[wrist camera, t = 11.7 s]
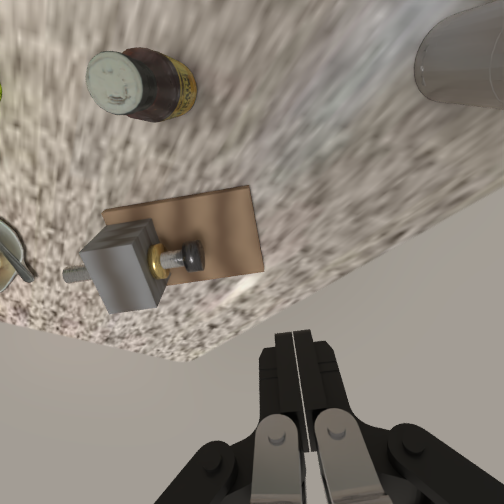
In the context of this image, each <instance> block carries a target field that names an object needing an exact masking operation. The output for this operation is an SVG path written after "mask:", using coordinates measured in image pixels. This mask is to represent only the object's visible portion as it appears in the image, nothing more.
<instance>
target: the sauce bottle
mask: <svg viewBox="0 0 504 504" xmlns="http://www.w3.org/2000/svg"><path fill="white" fill-rule="evenodd" d="M86 84H87V88H88V91H89V92H90V95H91V97H92V98H93V99H94V101H95V102H96V103H97V104H98V105H99V106H100V107H101V108H102V109H104V110H105V111H107V112H110V113H112V114H115V115H127V116H128V117H130V118H134V119H139V120H144V121H149V122H161V121H165V120H168V119H171V118H174V117H178V116H181V115H183V114H185V113H186V112H188V111H189V110H190V109H191V107H192V106H193V104H194V102H195V99H196V93H197V88H196V82H195V80H194V77H193V75H192V73H191V72H190V70H189V69H188V68H187V67H186V66H185V65H184V64H182V63H181V62H179V61H177V60H175V59H172V58H170V57H168V56H166V55H164V54H162V53H160V52H157V51H153V50H150V49H148V48H141V47H139V48H137V47H136V48H131V49H126V51H124V52H123V53H120V52H114V51H104V52H100V53H99V54H97V55H96V56H94V57H93V58H92V60H91V61H90V62H89V64H88V67H87V72H86Z"/></svg>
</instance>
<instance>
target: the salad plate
mask: <svg viewBox="0 0 504 504" xmlns="http://www.w3.org/2000/svg"><path fill="white" fill-rule="evenodd" d="M17 274H19V275H20V277H21V278H22V279H23V280H24V281H25V282H28V283H30V282H32V281H34V276H33V274H32V273H31V272H30V271H29V269H28V268H27V266H26V265H25V261H24V249H23V247H22V244H21V242H20V240H19V238H18V235H17V234H16V232H15V231H14V230H13V229H12V228H11V227H9V226H8V225H7V224H6V223H4V222H3V221H2V220H0V293H1V292H3V291H4V290H5V289H6V288H7V286H8V285H9V284H10V283H11V282H12V280H13V278H14V276H15V275H17Z"/></svg>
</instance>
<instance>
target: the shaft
mask: <svg viewBox="0 0 504 504" xmlns="http://www.w3.org/2000/svg"><path fill="white" fill-rule="evenodd" d="M147 261H148V265H149V269H150V272H151V274H152V276H153V277H154V278H155V279H164V278H167V277H168V276H169V273H170V268H176V267H183V266H185V268H186V270H187V272H189V273H191V272H197V271H204V269H205V253H204V249H203V245H202V243H201V241H200V240H193V241H187V242H184V243H183V245H182V250H175V251H169V252H167V249H166V247H165V246H164V245H163V244H161V243H160V244H154V245H151V246H150V247H149V250H148V257H147ZM63 279H64V281H65V282H66V283H75V282H82V281H89V280H92V278H91V276H90V274H89V272H88V270H87V268H86V266H85V264H84V265H78V266H71V267H66V268H64V270H63Z"/></svg>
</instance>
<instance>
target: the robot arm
mask: <svg viewBox="0 0 504 504" xmlns="http://www.w3.org/2000/svg"><path fill="white" fill-rule="evenodd" d="M414 69H415V79H416V83H417V86H418V88H419V89H420V91H421V92H422V93H423V94H424V95H425V96H426V97H427V98H429V99H431V100H433V101H437V102H444V103H453V104H460V105H469V106H477V107H486V108H495V109H504V0H497V1H494V2H491V3H488V4H485V5H482V6H479V7H475V8H472V9H469V10H466V11H463V12H460V13H457V14H454V15H452V16H450V17H448V18H446V19H444V20H443V21H441V22H440V23H438V24H437V25H436V26H435V27H434V28H433V29H432V30H431V31H430V32H429V33H428V35H427V36H426V37H425V39H424V40H423V42H422V44H421V46H420V48H419V50H418V53H417V56H416V61H415V67H414ZM293 334H294V341H295V348H296V355H297V361H298V367H299V374H300V381H301V388H302V394H303V401H304V407H305V414H306V420H307V427H308V433H309V439H310V446H311V452H314V451H317V454H318V460H319V465H320V474H321V479H322V483H323V487H324V492H325V496H326V500H327V504H504V484H502V483H501V482H499V481H498V480H496V479H495V478H494V477H492V476H491V475H489V474H488V473H486V472H485V471H483V470H482V469H480V468H479V467H478V466H476V465H475V464H473V463H472V462H471V461H469V460H468V459H466V458H465V457H463V456H462V455H461V454H459V453H458V452H456V451H455V450H453V449H452V448H451V447H449V446H448V445H446V444H445V443H443V442H442V441H440V440H439V439H437V438H436V437H435V436H433V435H432V434H430V433H429V432H428V431H426V430H425V429H423V428H421V427H419V426H417V425H414V424H409V423H403V424H399V425H396V426H394V427H393V428H392V429H391V430H386V429H382V428H377V427H373V426H370V425H367V424H365V423H364V422H362V421H361V420H359V419H358V418H357V417H356V416H355V415H354V413H353V412H352V410H351V408H350V406H349V402H348V399H347V395H346V392H345V388H344V385H343V382H342V378H341V375H340V372H339V368H338V365H337V362H336V358H335V354H334V351H333V349H332V348H331V347H330V345H329V344H328V343H327V342H326V341H318V342H313V339H312V335H311V331H310V329H309V330H301V331H293ZM259 380H260V381H259V391H260V419H259V423H258V426H257V428H256V429H255V430H254V432H253V433H252V434H251V435H250V436H248V437H247V438H246V439H244V440H242V441H240V442H237V443H235V444H233V445H231V446H229V445H228V444H227V443H225V442H222V441H212V442H209V443H207V444H205V445H203V446H202V447H201V448H200V449H199V450H198V452H196V454H195V455H194V456H193V457H192V459H191V460H190V461H189V462H188V463H187V465H186V466H185V467H184V468H183V469H182V470H181V472H180V473H179V474H178V475H177V477H176V478H175V479H174V480H173V481H172V482H171V484H170V485H169V486H168V487H167V489H166V490H165V491H164V492H163V493H162V495H161V496H160V497H159V498H158V499H157V501H156V502H155V503H154V504H307V494H306V478H305V477H306V466H305V458H304V452H309V446H308V439H307V432H306V425H305V419H304V413H303V406H302V398H301V392H300V385H299V378H298V371H297V365H296V358H295V352H294V345H293V338H292V332H285V333H277V334H275V347H270V348H264V349H263V351H262V353H261V355H260V357H259Z"/></svg>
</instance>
